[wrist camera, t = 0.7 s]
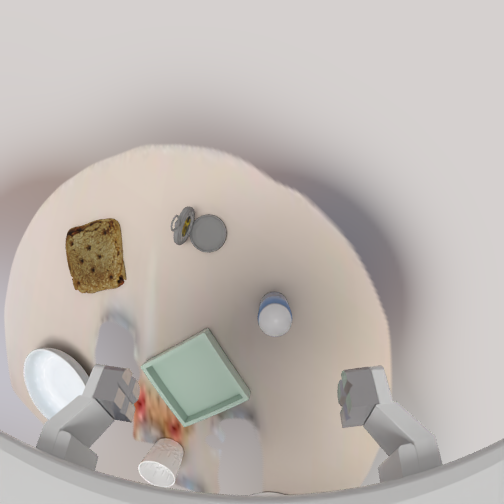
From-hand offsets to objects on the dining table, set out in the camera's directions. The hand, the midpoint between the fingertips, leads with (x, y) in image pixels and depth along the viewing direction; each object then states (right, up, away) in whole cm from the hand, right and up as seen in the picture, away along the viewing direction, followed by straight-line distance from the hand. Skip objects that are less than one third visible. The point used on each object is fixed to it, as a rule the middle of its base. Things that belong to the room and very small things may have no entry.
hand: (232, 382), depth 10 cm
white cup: (-18, -39, +44) cm, 62 cm away
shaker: (+5, -5, +43) cm, 43 cm away
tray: (-10, -19, +44) cm, 49 cm away
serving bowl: (-42, -26, +46) cm, 67 cm away
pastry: (-31, +4, +45) cm, 55 cm away
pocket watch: (-8, +9, +44) cm, 45 cm away
